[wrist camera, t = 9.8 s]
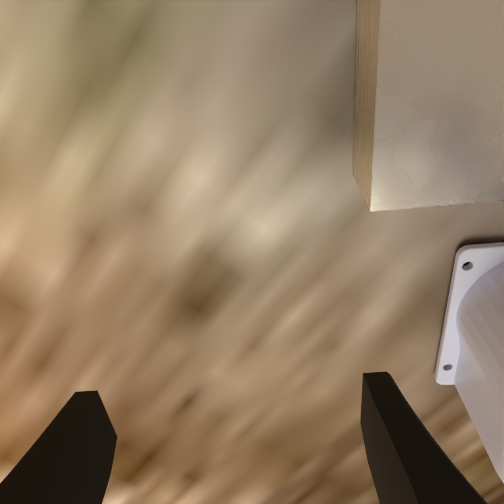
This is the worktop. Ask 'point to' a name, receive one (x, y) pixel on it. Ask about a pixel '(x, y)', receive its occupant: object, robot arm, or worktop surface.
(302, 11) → the worktop surface
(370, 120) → the housing
